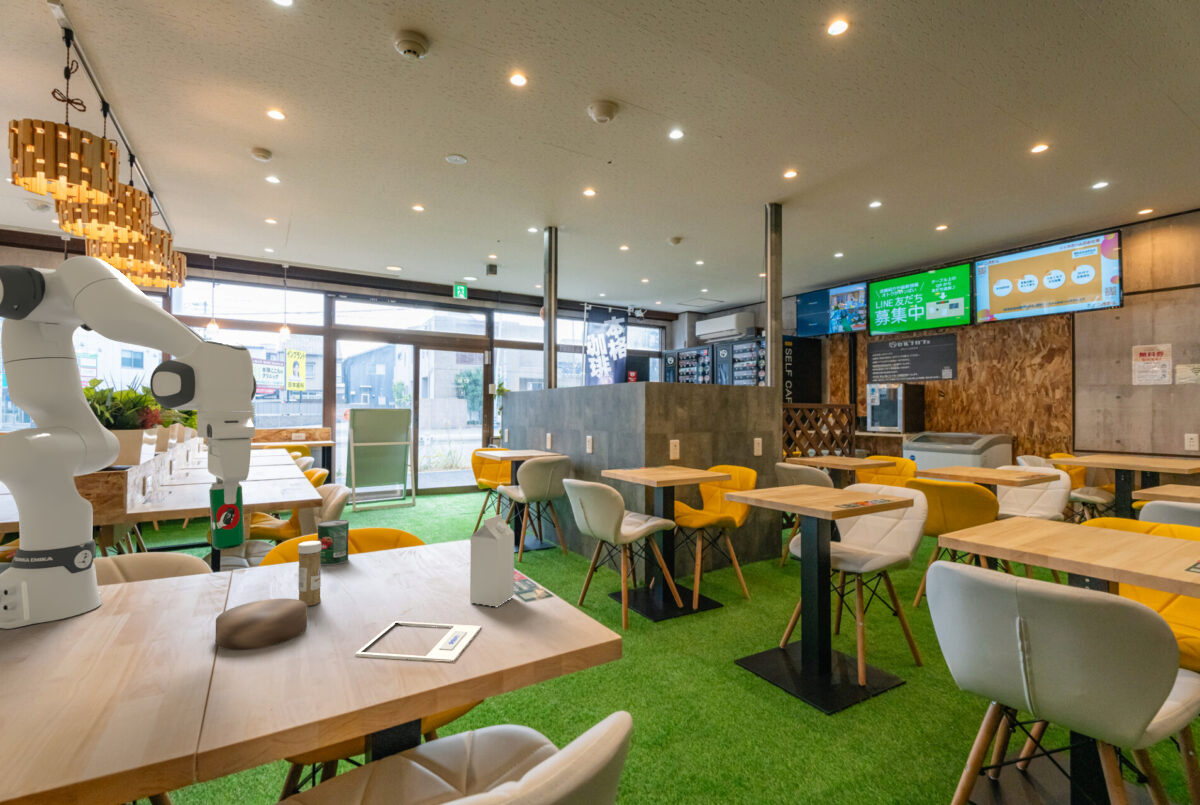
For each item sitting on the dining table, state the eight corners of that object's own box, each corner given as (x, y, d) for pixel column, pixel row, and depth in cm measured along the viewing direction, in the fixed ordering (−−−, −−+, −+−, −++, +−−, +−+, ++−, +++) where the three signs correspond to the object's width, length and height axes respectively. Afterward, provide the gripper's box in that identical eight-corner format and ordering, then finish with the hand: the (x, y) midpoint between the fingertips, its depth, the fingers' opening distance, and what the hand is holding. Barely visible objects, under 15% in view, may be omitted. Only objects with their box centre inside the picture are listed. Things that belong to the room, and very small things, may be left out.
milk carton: (469, 603, 124) (470, 518, 124) (487, 593, 130) (488, 512, 130) (497, 608, 121) (497, 521, 121) (514, 598, 128) (514, 515, 128)
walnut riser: (195, 648, 100) (195, 626, 100) (250, 617, 115) (251, 597, 115) (276, 651, 99) (276, 628, 99) (321, 618, 114) (321, 599, 114)
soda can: (251, 543, 105) (248, 480, 105) (227, 550, 100) (223, 483, 100) (230, 543, 106) (227, 480, 107) (205, 550, 102) (202, 484, 102)
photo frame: (453, 658, 96) (355, 652, 98) (453, 665, 96) (355, 658, 98) (481, 625, 110) (394, 620, 112) (481, 630, 110) (394, 625, 112)
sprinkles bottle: (322, 604, 123) (322, 543, 123) (298, 608, 120) (299, 546, 120) (319, 598, 126) (320, 539, 126) (296, 602, 124) (297, 541, 124)
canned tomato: (310, 564, 152) (311, 524, 152) (329, 557, 160) (329, 518, 160) (337, 566, 151) (337, 526, 151) (354, 558, 159) (354, 520, 159)
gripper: (198, 426, 109) (198, 496, 109) (214, 429, 94) (214, 511, 94) (236, 425, 114) (236, 493, 114) (257, 428, 98) (257, 506, 98)
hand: (226, 501), depth 104 cm, fingers closed on soda can, 5 cm apart
